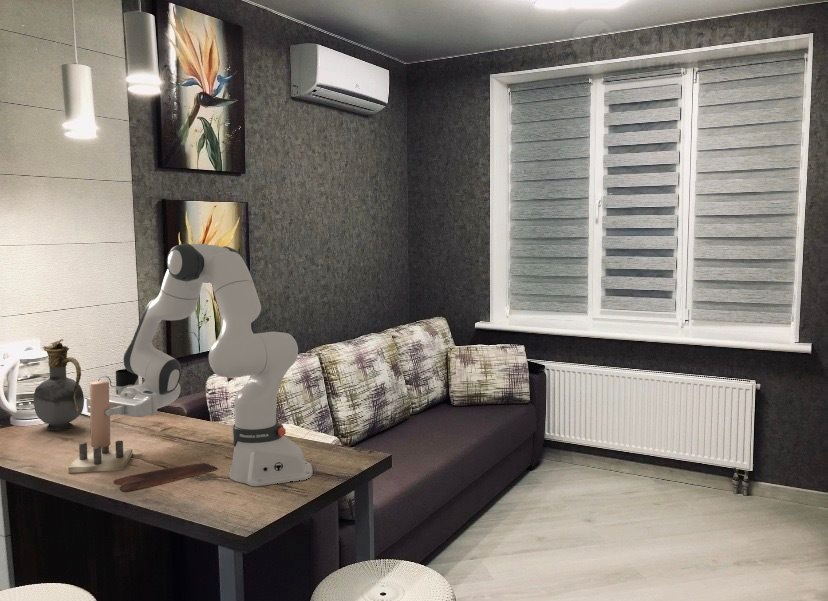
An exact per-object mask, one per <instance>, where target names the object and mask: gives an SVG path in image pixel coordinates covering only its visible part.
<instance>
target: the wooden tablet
mask: <svg viewBox="0 0 828 601" xmlns="http://www.w3.org/2000/svg"><path fill="white" fill-rule="evenodd" d="M218 469H219V467H217V466H216V465H213V464H210V463H205V462H200V463H192V464H186V465H181V466H176V467H175V466H174V467H168V468H163V469H162V468H161V469H157V470H151V471H145V472H142V473H136V474H132V475H128V476H123V477H120V478H119V477H118V478H116V479H114V480H113V484H114V485H115V486H119V490H120V491H121V492H123V493H126V492H131V491H137V490H141V488H142V489H145V488H150V486H151V487H155V486H158V485H159V484H160V485H163V483H164V484H167V482H168V483H172V482H176V481H179V479H180V480H184V479H187V478H191V477H195V476H200V475H203V474H207V473H211V472H213V471H217V470H218ZM175 480H176V481H175ZM171 481H172V482H171Z"/></svg>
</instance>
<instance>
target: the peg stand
mask: <svg viewBox="0 0 828 601" xmlns="http://www.w3.org/2000/svg"><path fill="white" fill-rule="evenodd" d="M92 448H93V450H88V443H87V442H86V441H85V442H84V441H83V442H79V444H78V450H79V452H78V455H77V456H76V457H75V458H74V460H73V461H72V462H71V463H70V465H69V466H68V474H70V473H71V474H72V473H73V474H74V473H89V472H90V473H91V472H107V471H108V472H110V471H111V472H112V471H124V469H125V468H126V466H127V465H128V462H129V460H130V459H131V457H132V455H133V449H132V448H124V440H116V441H115V449H110V445H109V446H107V447H102V448H101V447H92Z"/></svg>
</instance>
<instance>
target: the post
mask: <svg viewBox="0 0 828 601" xmlns="http://www.w3.org/2000/svg"><path fill="white" fill-rule="evenodd" d="M109 394H110V381H108V380H99V381H98V380H97V381H96V380H95V381H92V382H89V397H90V418H89V419H90V445H91V447H92V448H94V447H101V449H102V447H107V446H109V447H110V445H111V415H110V416H107V415H104V413H105V412H104V410H105V409H107V408H110V404H109Z"/></svg>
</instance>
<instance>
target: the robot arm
mask: <svg viewBox="0 0 828 601" xmlns="http://www.w3.org/2000/svg"><path fill="white" fill-rule="evenodd" d="M166 267H167V269H166V272H165V274H164V276H163V280H162V284H161V288H160V291H159V293H158V295H157V296H156V297H154V298H152V299H151V300H150V301H149V302H148V304H147V305H146V307H145V309H144V310H143V313H142V315H141V318H140V321H139V323H138V325H137V327H136V330H135V333H134V335H133V337H132V340H131V342H130V343H129V345H128V347H127V348H126V350H125V352H124V354H123V358H122V359H123V365H124V369H126V370H127V371H129V372H132V373H134V374H136V375H138V376H139V377H141V378H143V379H144V381H143V383H139V384H138V385H134V386H131V387H127V388H125V389H123V391H122V392H121V394H120V395H116V393H109V404H110V408H107V409H105V410H104V412H105V413H104V415H107V416H110V417H111V416H115V415H120V416H121V415H122V416H127V417H133V418H143V417H146V416H154V415H157V414H158V409H161V408H163V407H166V406H169V405H170V404H172V403H173V402H175V401H176V400H177V399H178V398H179V396H180V394H181V385H180V379H181V375H182V367H181V364H180V361H179V360H178V359H176V358H174V357H172V355H168V354H167V353H165V352H163V351H162V350H160V349H157V348H156V347H155V346H154V344H153V340H154V337H155V335H156V333H157V330H158V328H159V326H160V323H161V322H162V321H179V320H184V319H187V318H188V317H190V316H191V315H192V314H193V313H194V312H195V311H196V308H197V306H198V302H199V298H200V294H201V289H202V286H203V283H204V284H210V283H211V288H212V291H213V295H214V298H215V301H216V304H217V308H218V312H219V317H220V332H219V335H218V337H217V338H216V340H215V341H214V343H213V344H212V345H211V347H210V350H209V353H208V363H209V367H210V369H211V370H212V371H213V373H214V374H215V375H216V376H217V377H222V378H236V379H237V378H243V377H249V379H248V380H247V383H246V384H245V385H244V386H243V387H242V388H241V389H240V390H239V391H237V393H236V395H235V398H234V401H233V402H234V424H232V426H233V427H232V444H233V455H232V461H231V466H230V470H229V474H228V477H229V478H230V479H231V481H234V482H237V483H242V484H246V485H248V486H251V487H260V486H261V487H262V486H268V485H277V483H278V484H282V483H283V484H285V483H291V482H290V481H293V482H297V481H299V480H300V481H306V479H307V480H308V478H309V479H310V478H311V477H312V476H313V466H312V464H311V463H310V462H309V461H306V460H305V456H304V453H303V450H302V448H301V447H300V446H299V445H298V444H297V443H295V442H293V441H292V440H290V439H289V438H287V437H286V436H285V435H286V428H285V427H284V425H283V424H282V422H278V421H277V402H278V400H277V399H278V393H279V390H280V387H281V384H282V381H283V379H284V376H286V374H287V372H288V370H289V369H290V368H291V367H292V366H293V365H294V364H296V362H297V359H298V356H299V348H298V343H297V341H296V339H295V338H294V336H292V334H290V333H288V332H279V331H267V332H260V333H259V332H258V333H254V332H253V329H252V323H253V322H254V321H255V320H256V319H258V317H259V315H260V314H261V311H262V304H261V302H260V298H259V295H258V292H257V288H256V286H255V283H254V281H253V278H252V274H251V272H250V270H249V268H248V266H247V264H246V261H244V258H243V257H242V256H241V253H240V252H239V251H238V250H237V249H235V248H232V247H229V246H220V245H213V244H208V243H191V244H190V243H181V244H177V245H175V246H173V247H172V248H171V249H170V251H169V252H168V254H167V257H166ZM86 410H87V411H86V412H87V413H90V396H88V397H87V398H86ZM300 481H299V482H300Z"/></svg>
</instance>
